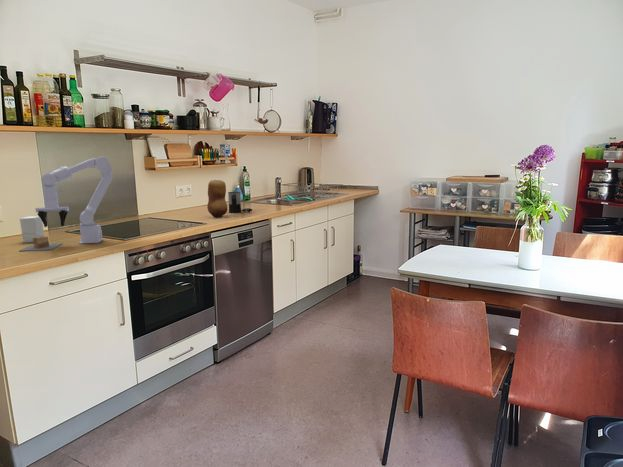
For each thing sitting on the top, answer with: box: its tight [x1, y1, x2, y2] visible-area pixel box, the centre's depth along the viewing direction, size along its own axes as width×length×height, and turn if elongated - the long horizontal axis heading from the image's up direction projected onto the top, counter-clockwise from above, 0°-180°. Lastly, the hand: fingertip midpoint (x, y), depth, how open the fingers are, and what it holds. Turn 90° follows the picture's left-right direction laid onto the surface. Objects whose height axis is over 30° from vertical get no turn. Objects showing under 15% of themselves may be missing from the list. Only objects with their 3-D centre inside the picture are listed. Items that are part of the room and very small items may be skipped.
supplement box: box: [19, 215, 45, 244], centre depth 235 cm, size 7×7×13 cm
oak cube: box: [32, 235, 50, 248], centre depth 219 cm, size 5×5×5 cm
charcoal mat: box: [18, 242, 63, 253], centre depth 220 cm, size 14×14×1 cm
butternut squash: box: [206, 179, 229, 219], centre depth 306 cm, size 14×13×25 cm
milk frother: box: [227, 191, 253, 214], centre depth 329 cm, size 14×16×15 cm
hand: (54, 226), depth 223 cm, fingers open, 7 cm apart
